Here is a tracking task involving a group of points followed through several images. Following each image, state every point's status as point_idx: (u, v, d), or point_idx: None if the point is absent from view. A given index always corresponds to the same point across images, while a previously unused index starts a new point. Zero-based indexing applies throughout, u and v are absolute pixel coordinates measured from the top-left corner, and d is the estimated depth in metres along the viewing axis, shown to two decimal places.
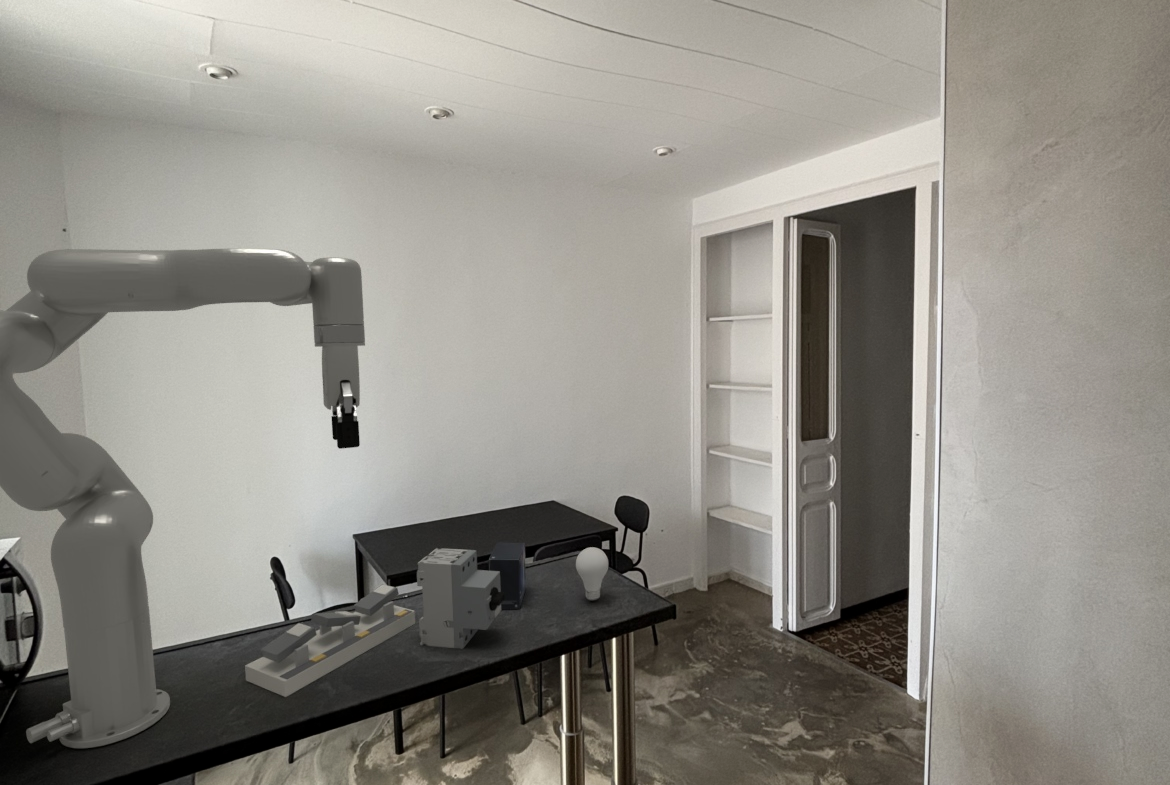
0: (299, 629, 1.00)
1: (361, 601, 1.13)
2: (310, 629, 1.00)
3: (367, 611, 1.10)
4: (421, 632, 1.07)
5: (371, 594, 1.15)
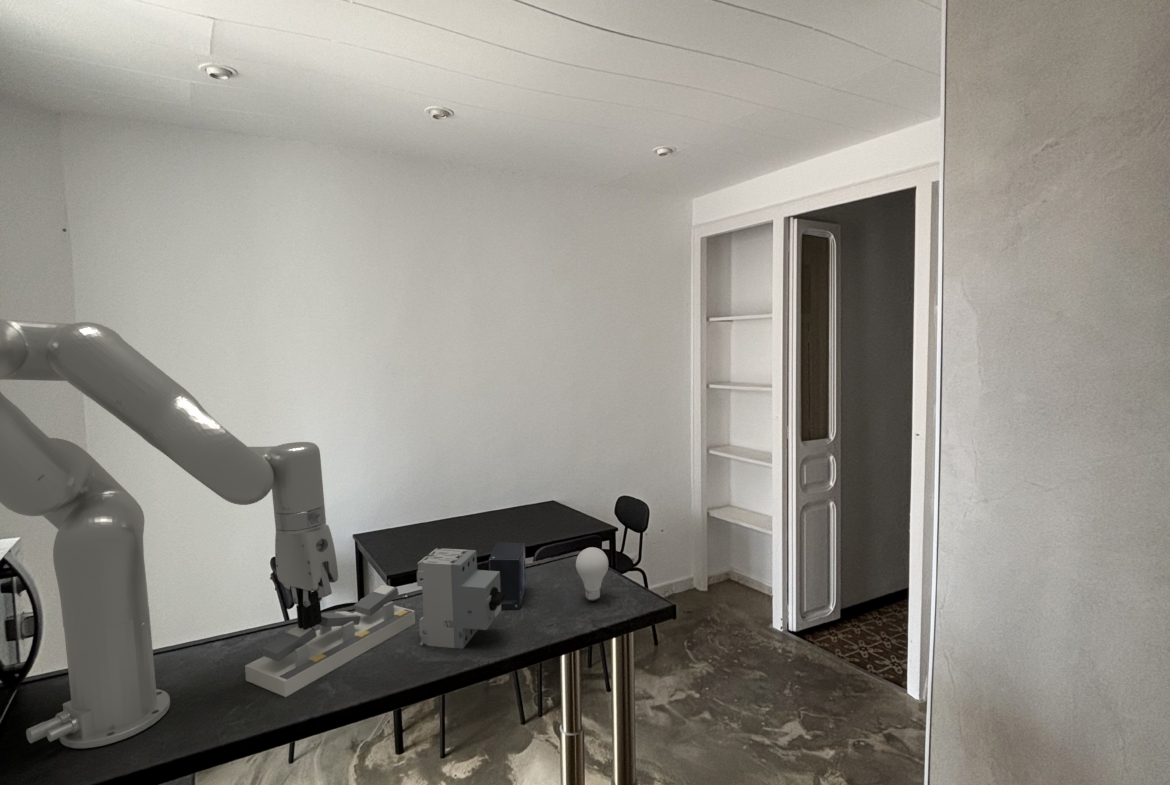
0: (300, 630, 1.00)
1: (361, 601, 1.13)
2: (311, 630, 1.00)
3: (367, 611, 1.10)
4: (421, 632, 1.07)
5: (371, 594, 1.15)
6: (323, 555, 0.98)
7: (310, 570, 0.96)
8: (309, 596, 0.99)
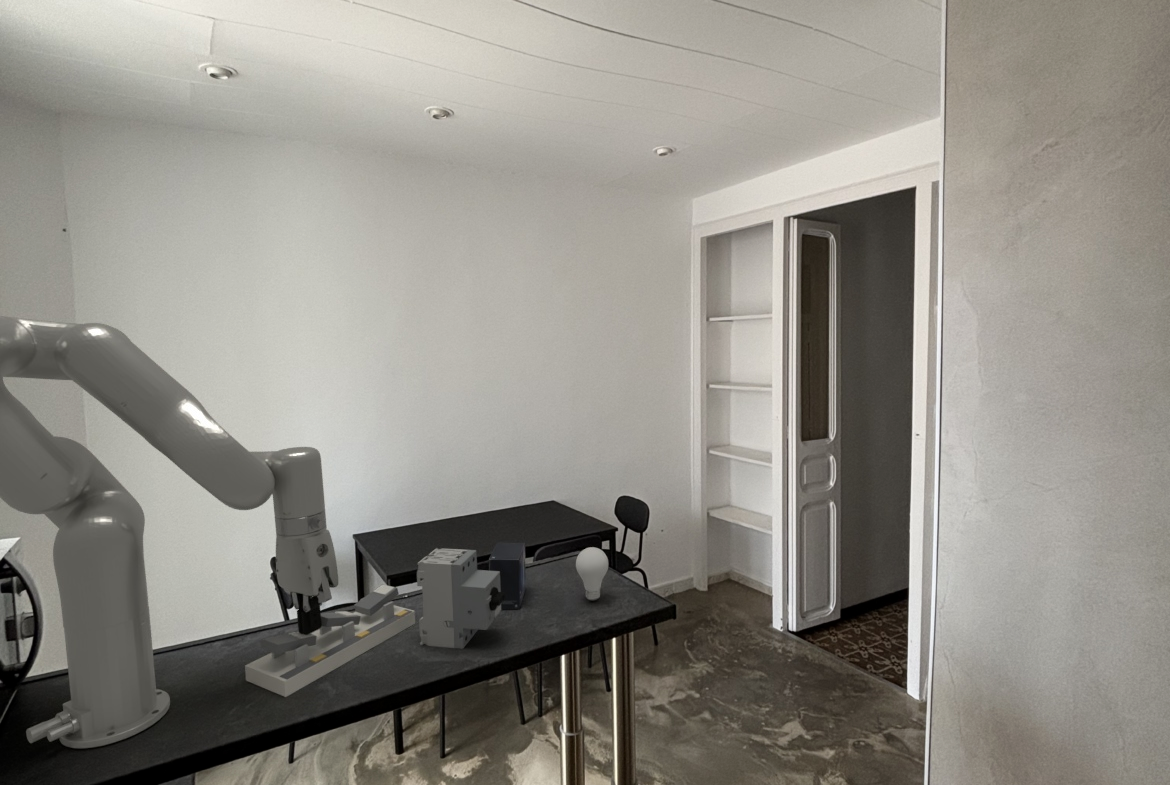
0: None
1: (361, 601, 1.13)
2: (312, 636, 1.00)
3: (367, 611, 1.10)
4: (421, 632, 1.07)
5: (371, 594, 1.15)
6: (324, 561, 0.98)
7: (310, 575, 0.96)
8: (309, 601, 0.99)
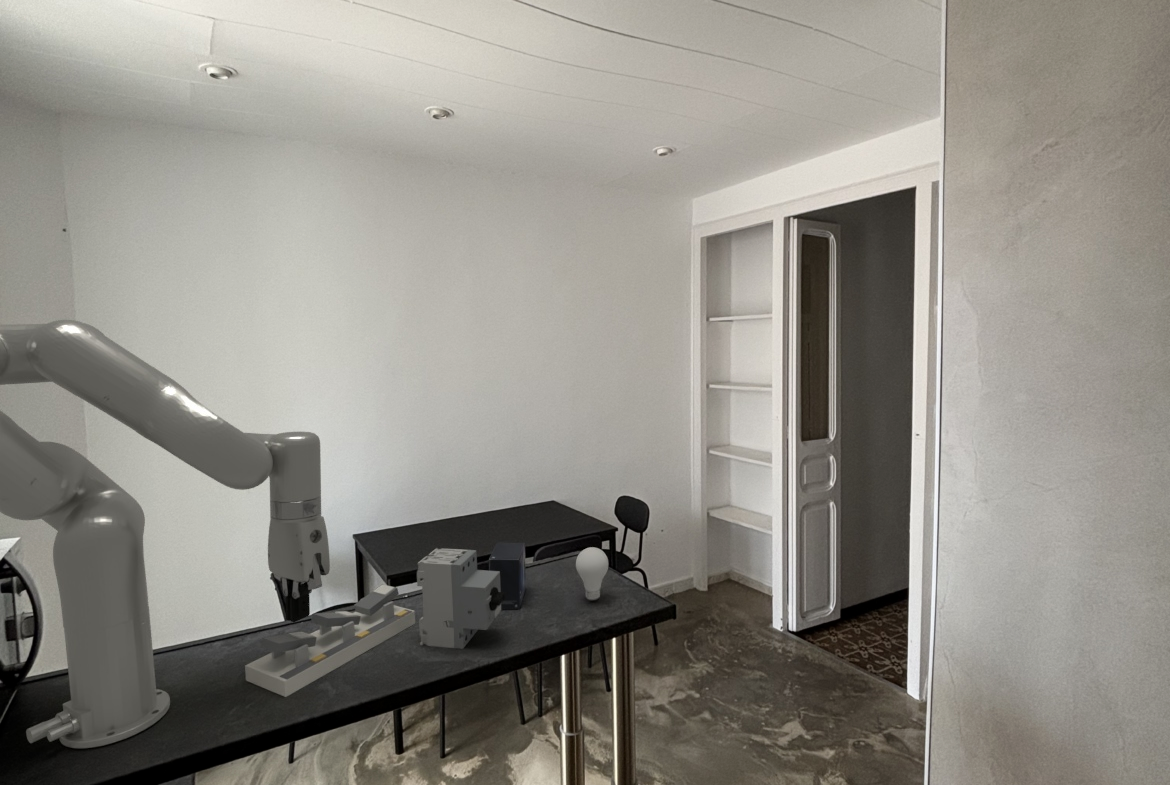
0: (302, 634, 1.00)
1: (361, 601, 1.13)
2: (312, 637, 1.00)
3: (367, 611, 1.10)
4: (421, 632, 1.07)
5: (371, 594, 1.15)
6: (316, 547, 0.97)
7: (302, 561, 0.95)
8: (299, 587, 0.98)
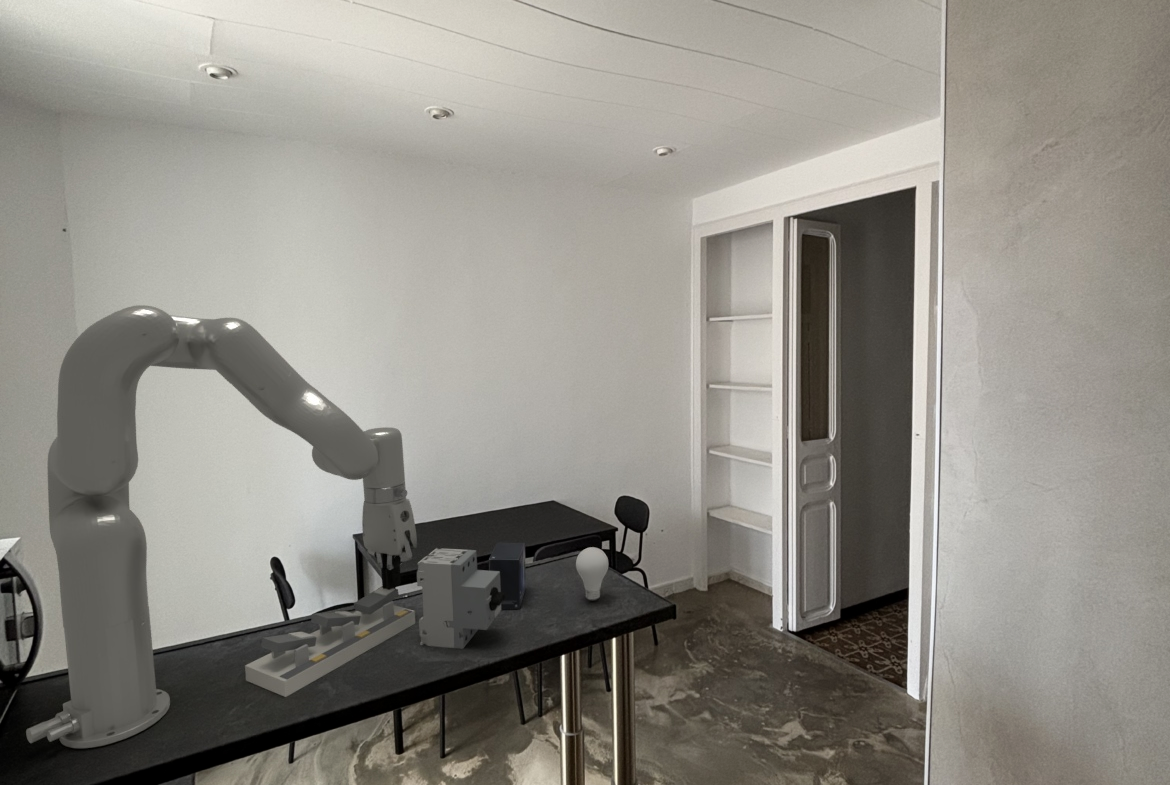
0: (302, 634, 1.00)
1: (362, 599, 1.13)
2: (312, 637, 1.00)
3: (367, 609, 1.10)
4: (421, 632, 1.07)
5: (371, 594, 1.15)
6: (406, 525, 1.13)
7: (395, 537, 1.12)
8: (392, 560, 1.15)
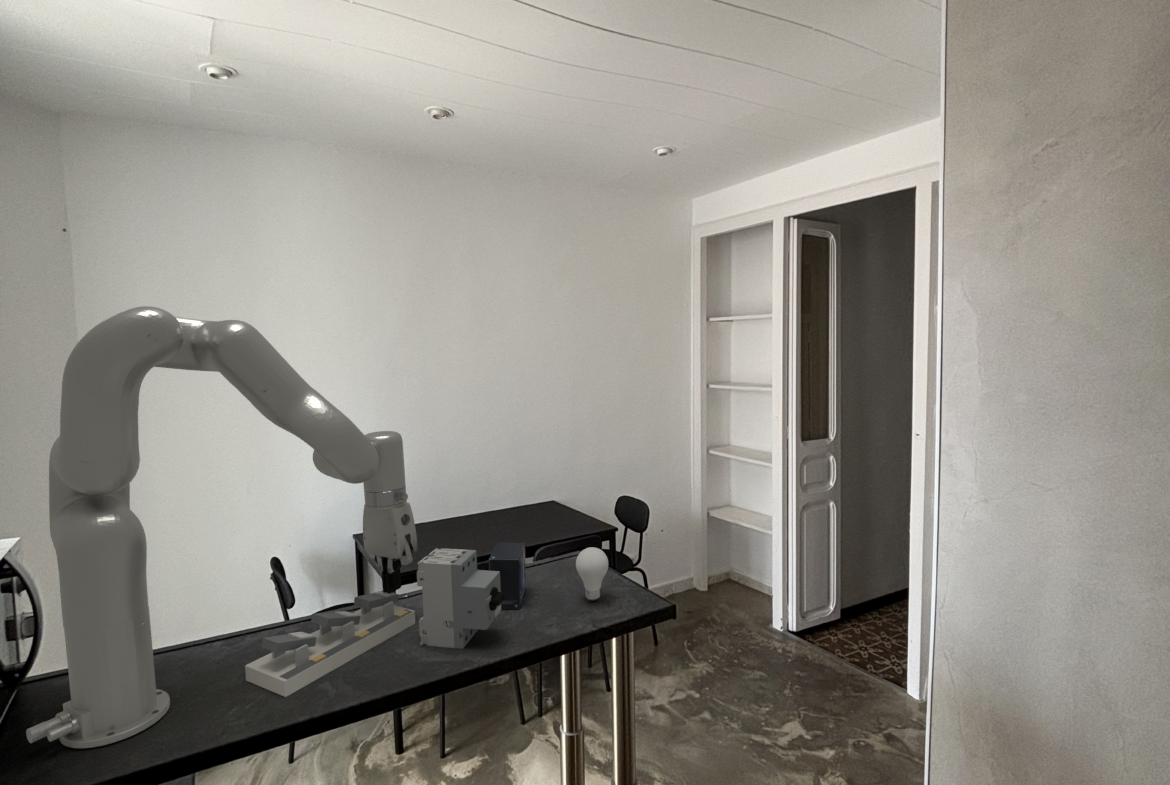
0: (302, 634, 1.00)
1: (362, 596, 1.13)
2: (312, 637, 1.00)
3: (367, 603, 1.10)
4: (421, 632, 1.07)
5: (372, 594, 1.15)
6: (406, 529, 1.13)
7: (396, 541, 1.12)
8: (393, 564, 1.15)
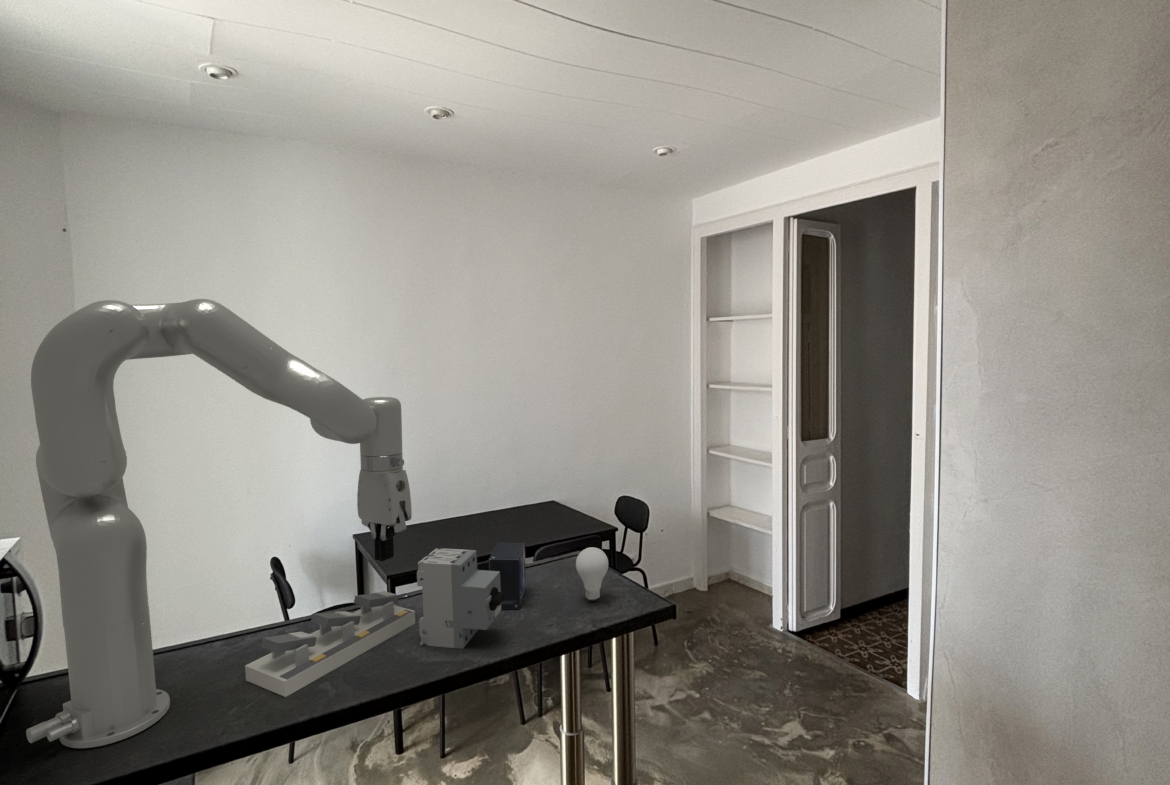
0: (302, 634, 1.00)
1: (363, 595, 1.13)
2: (312, 637, 1.00)
3: (367, 602, 1.10)
4: (421, 632, 1.07)
5: (372, 594, 1.15)
6: (401, 495, 1.12)
7: (390, 507, 1.11)
8: (386, 531, 1.13)
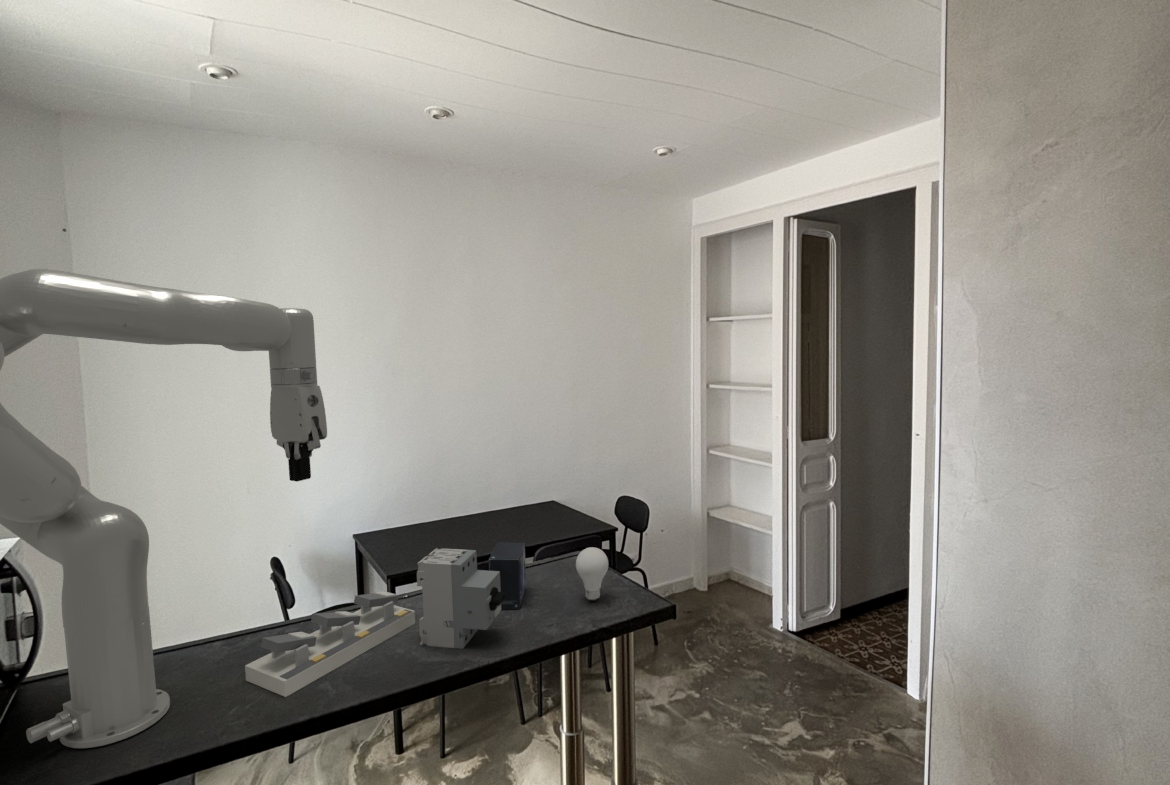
0: (302, 634, 1.00)
1: (363, 595, 1.13)
2: (312, 637, 1.00)
3: (367, 602, 1.10)
4: (421, 632, 1.07)
5: (372, 594, 1.15)
6: (314, 410, 1.07)
7: (301, 422, 1.05)
8: (300, 449, 1.08)
